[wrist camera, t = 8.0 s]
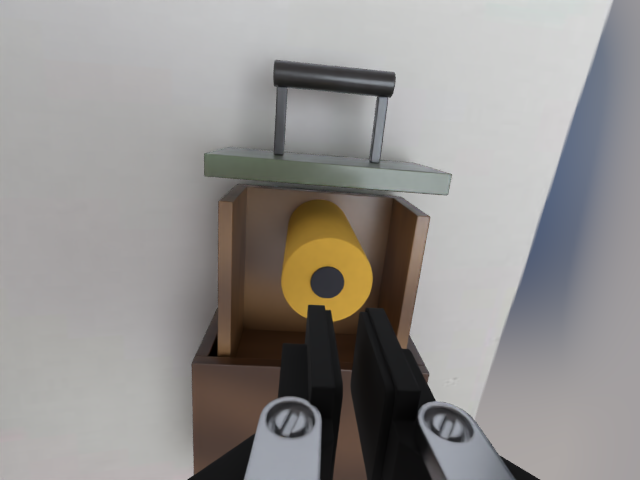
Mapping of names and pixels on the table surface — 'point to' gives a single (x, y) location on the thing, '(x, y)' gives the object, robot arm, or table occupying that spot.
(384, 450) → the robot arm
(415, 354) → the cabinet
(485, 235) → the table surface
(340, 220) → the roller
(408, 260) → the drawer
